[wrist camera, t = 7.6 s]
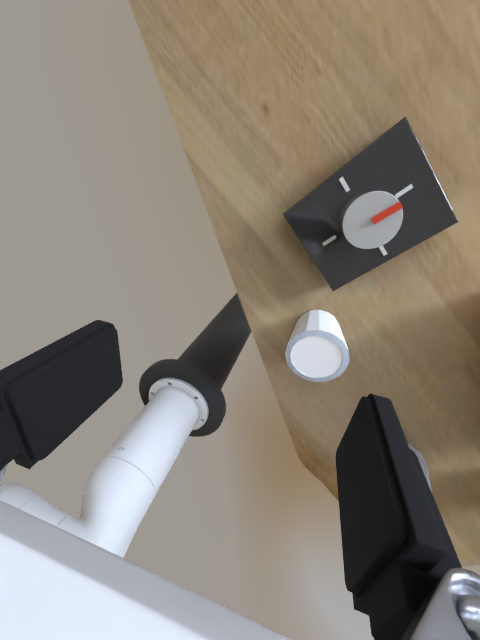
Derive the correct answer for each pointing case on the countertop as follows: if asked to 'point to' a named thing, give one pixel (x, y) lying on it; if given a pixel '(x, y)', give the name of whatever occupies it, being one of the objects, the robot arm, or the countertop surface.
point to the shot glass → (317, 347)
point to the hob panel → (366, 176)
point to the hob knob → (371, 219)
